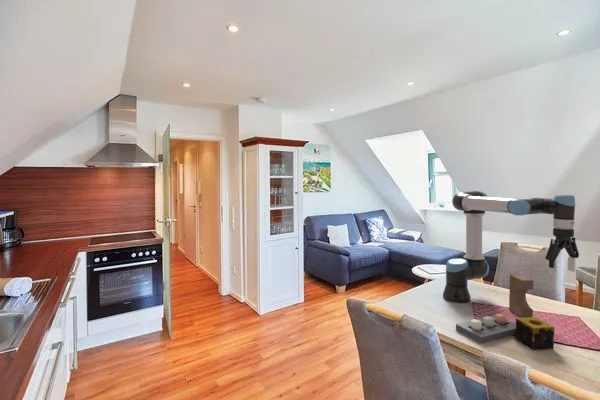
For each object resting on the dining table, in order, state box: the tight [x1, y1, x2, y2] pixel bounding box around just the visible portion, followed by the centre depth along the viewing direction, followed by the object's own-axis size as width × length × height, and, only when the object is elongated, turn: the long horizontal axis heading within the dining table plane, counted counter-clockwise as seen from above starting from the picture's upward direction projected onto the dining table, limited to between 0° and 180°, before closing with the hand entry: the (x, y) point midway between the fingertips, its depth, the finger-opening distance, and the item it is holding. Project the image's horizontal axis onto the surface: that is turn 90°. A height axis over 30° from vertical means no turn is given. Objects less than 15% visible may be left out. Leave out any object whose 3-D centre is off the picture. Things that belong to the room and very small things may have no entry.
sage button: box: [483, 315, 494, 329], centre depth 149 cm, size 4×4×4 cm
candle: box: [513, 316, 555, 351], centre depth 137 cm, size 10×10×10 cm
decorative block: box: [508, 273, 534, 318], centre depth 167 cm, size 11×6×20 cm, turn 177°
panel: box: [455, 314, 516, 345], centre depth 149 cm, size 14×26×3 cm, turn 110°
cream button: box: [471, 318, 482, 332], centre depth 146 cm, size 4×4×4 cm
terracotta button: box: [495, 313, 507, 326], centre depth 152 cm, size 4×4×4 cm
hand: (561, 272), depth 147 cm, fingers open, 13 cm apart
